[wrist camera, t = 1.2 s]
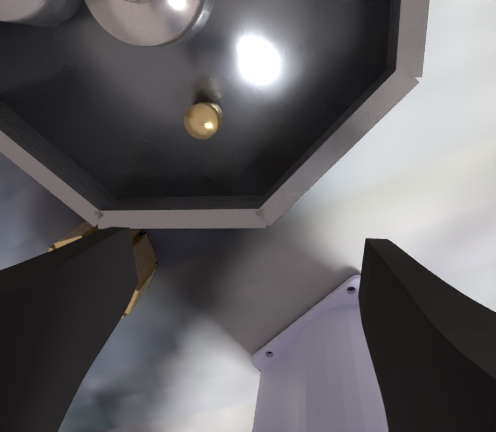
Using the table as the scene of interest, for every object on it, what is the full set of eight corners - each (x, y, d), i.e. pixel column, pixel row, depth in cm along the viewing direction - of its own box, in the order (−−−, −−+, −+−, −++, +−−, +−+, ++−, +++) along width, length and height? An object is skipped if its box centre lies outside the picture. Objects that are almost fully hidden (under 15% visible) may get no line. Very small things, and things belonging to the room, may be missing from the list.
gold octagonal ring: (139, 305, 25) (119, 335, 22) (65, 269, 25) (35, 295, 22) (168, 242, 23) (149, 267, 20) (87, 201, 23) (57, 220, 20)
